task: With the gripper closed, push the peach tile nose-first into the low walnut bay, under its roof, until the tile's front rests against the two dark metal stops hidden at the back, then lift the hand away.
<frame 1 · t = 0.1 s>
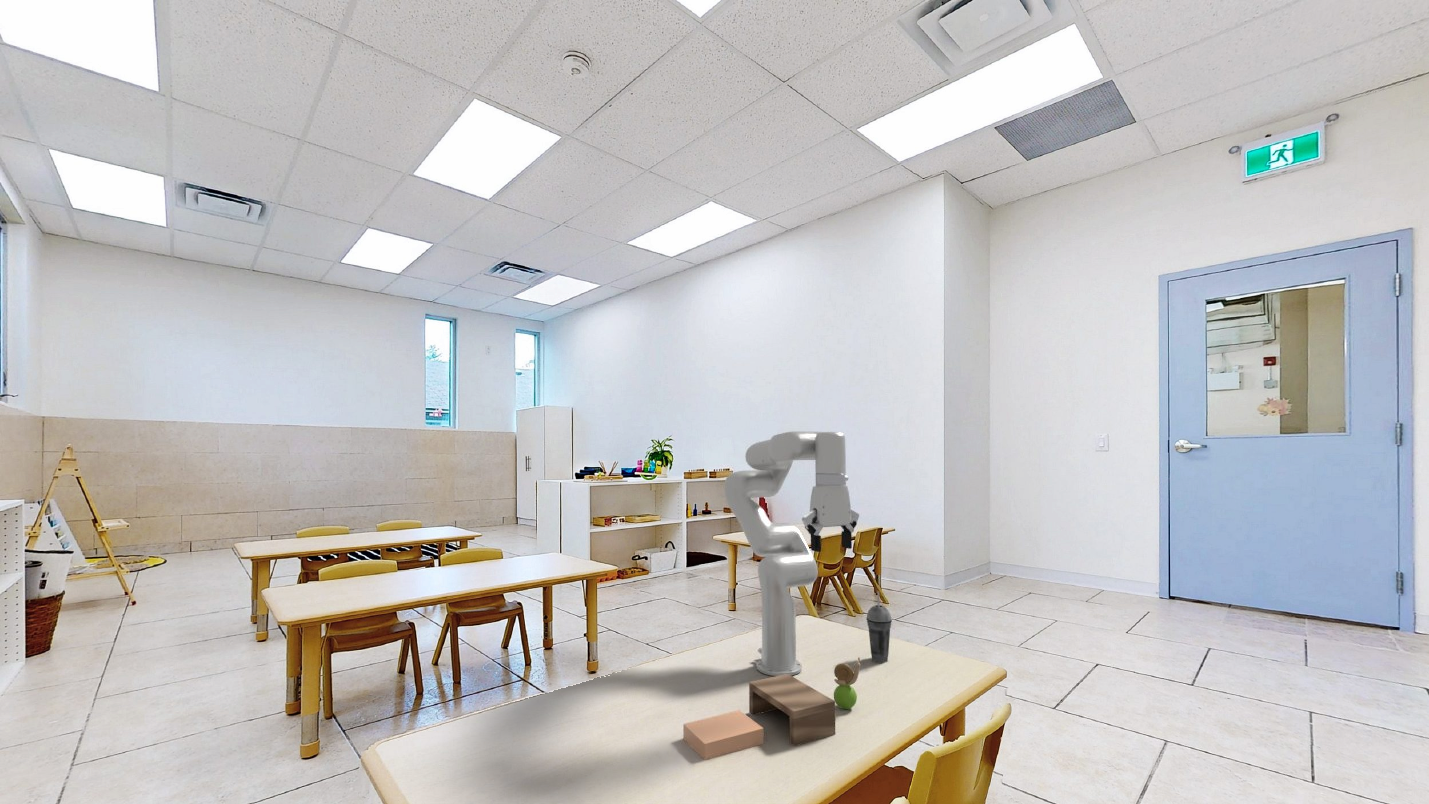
hand: (831, 549, 153), 37 cm above the table, fingers open, 9 cm apart
snail figurine: (847, 709, 146), on the table
peach tile: (723, 743, 130), on the table
beverage cup: (879, 660, 179), on the table
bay: (788, 723, 139), on the table
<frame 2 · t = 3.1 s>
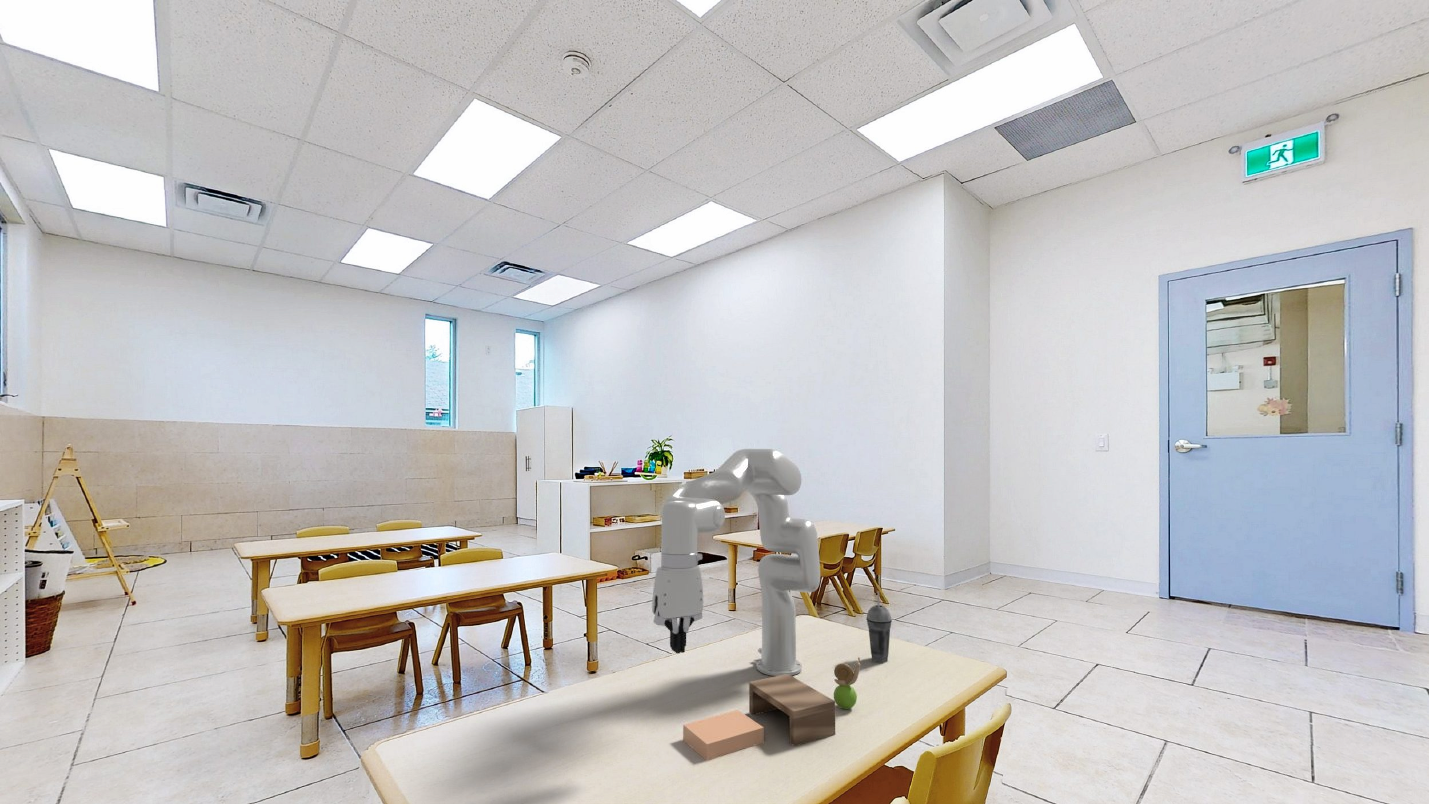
hand: (677, 650, 127), 20 cm above the table, fingers closed
nothing on the table moved.
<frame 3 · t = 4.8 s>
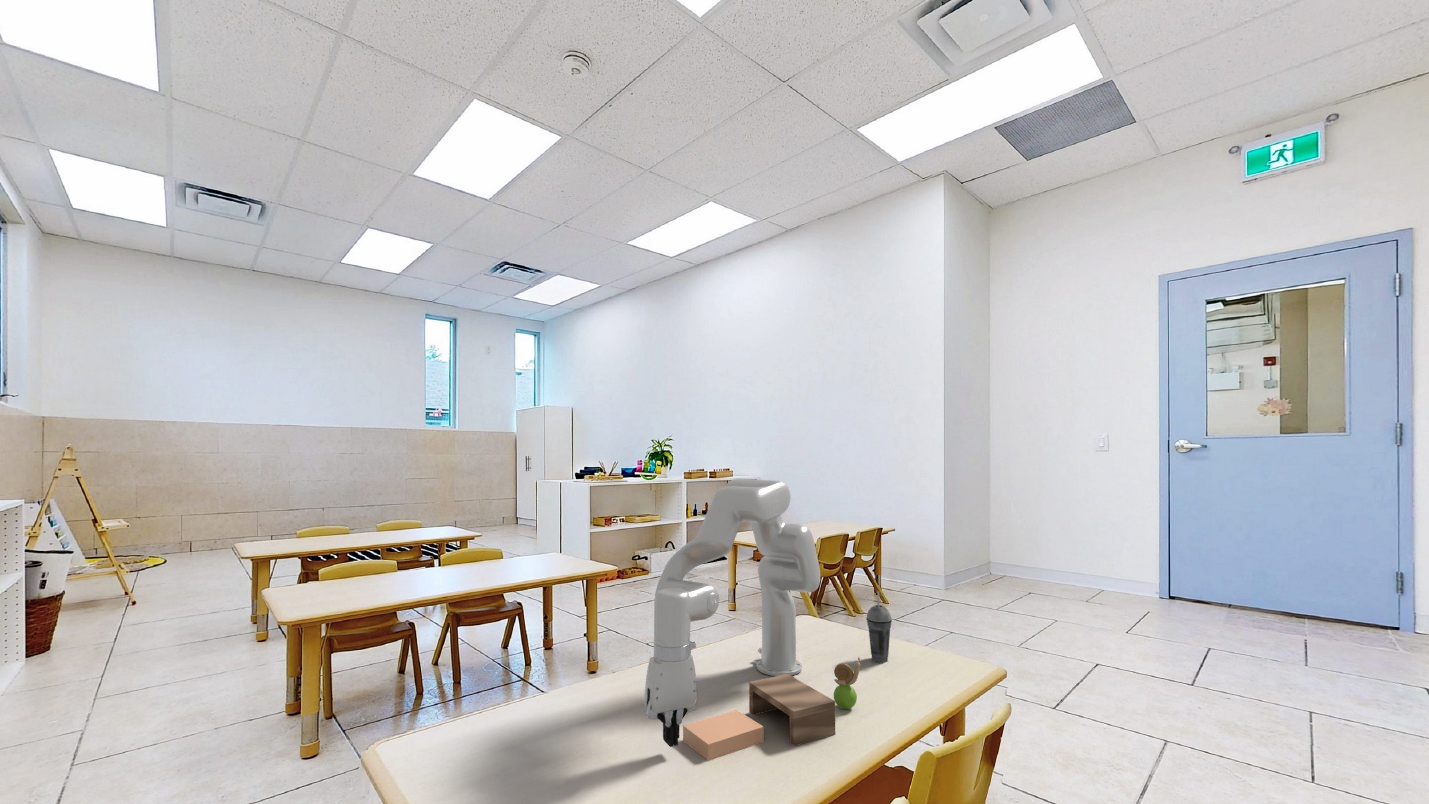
hand: (671, 743, 125), 2 cm above the table, fingers closed
nothing on the table moved.
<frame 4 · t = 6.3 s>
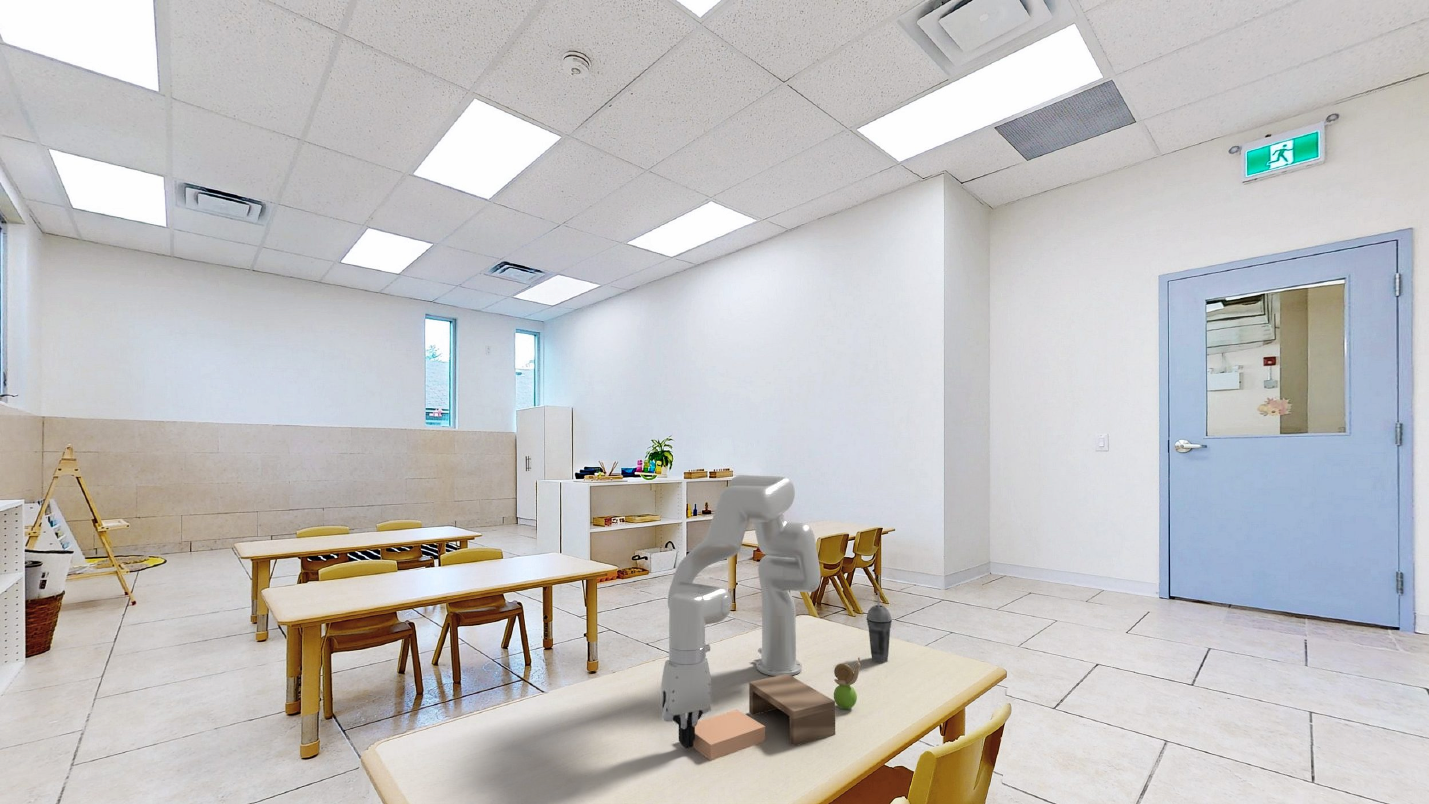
hand: (686, 745, 126), 1 cm above the table, fingers closed
peach tile: (724, 743, 131), on the table, touching gripper
everything else where it was.
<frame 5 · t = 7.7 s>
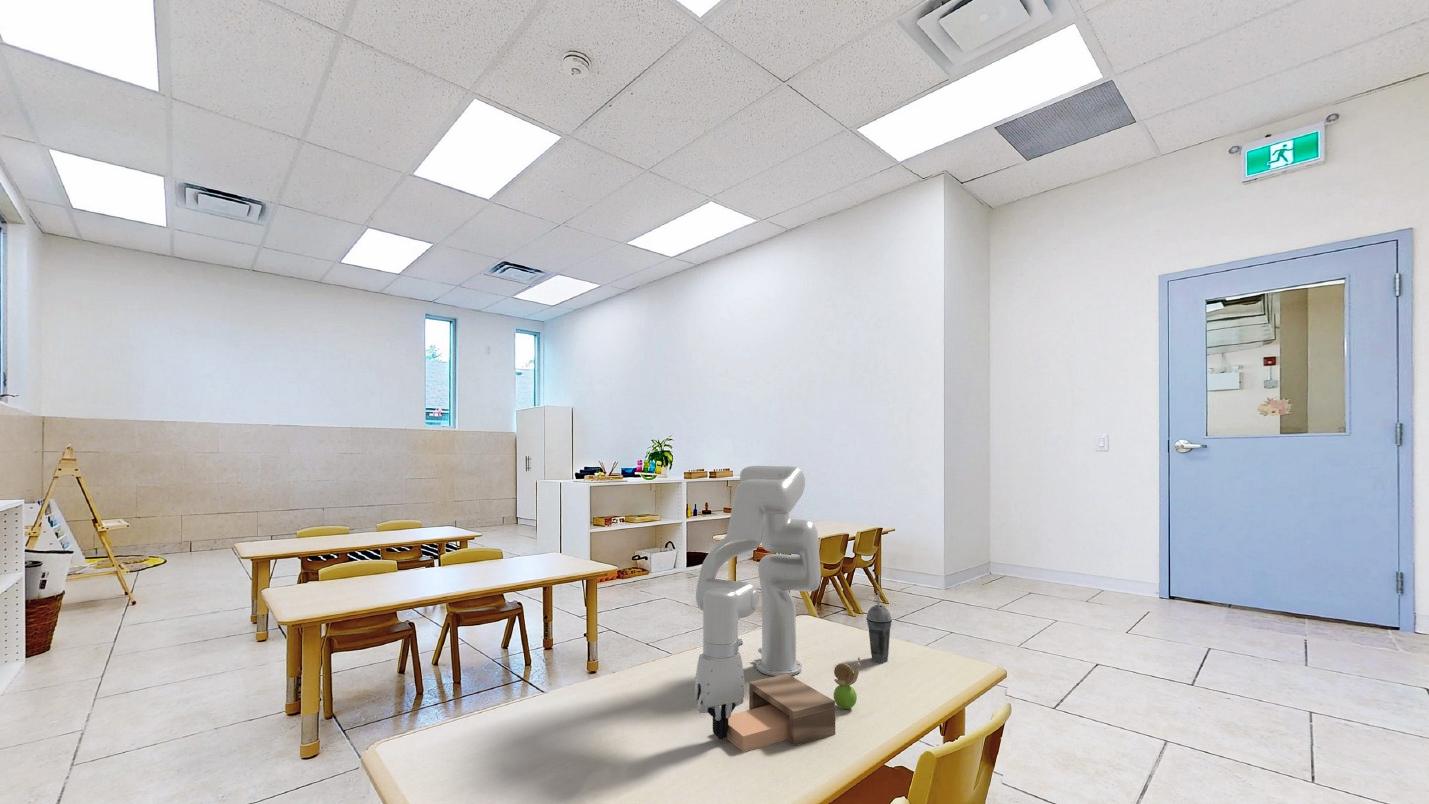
hand: (720, 736, 130), 1 cm above the table, fingers closed
peach tile: (758, 735, 134), on the table
everything else where it was.
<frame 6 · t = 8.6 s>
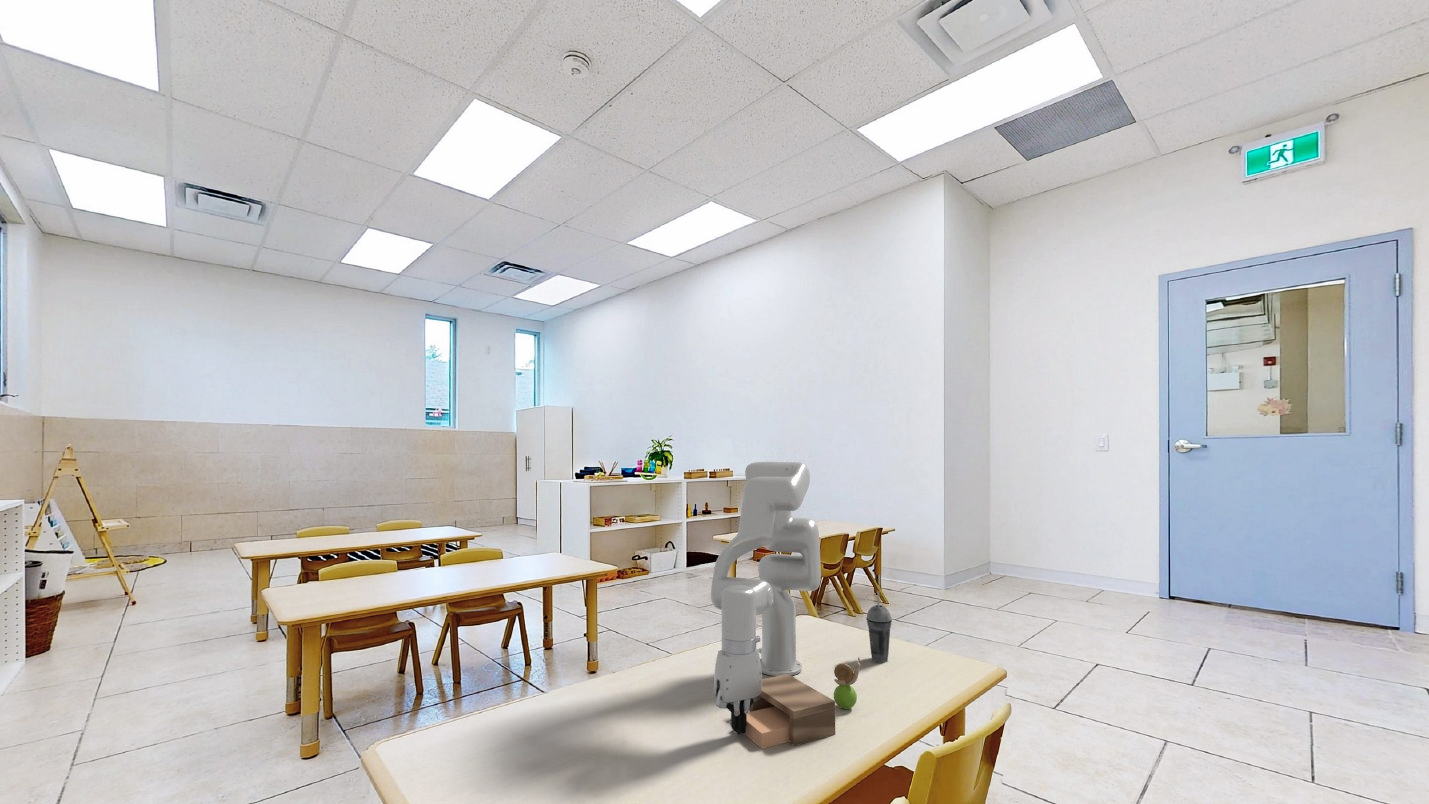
hand: (738, 731, 132), 1 cm above the table, fingers closed
peach tile: (777, 733, 135), on the table, touching gripper
everything else where it was.
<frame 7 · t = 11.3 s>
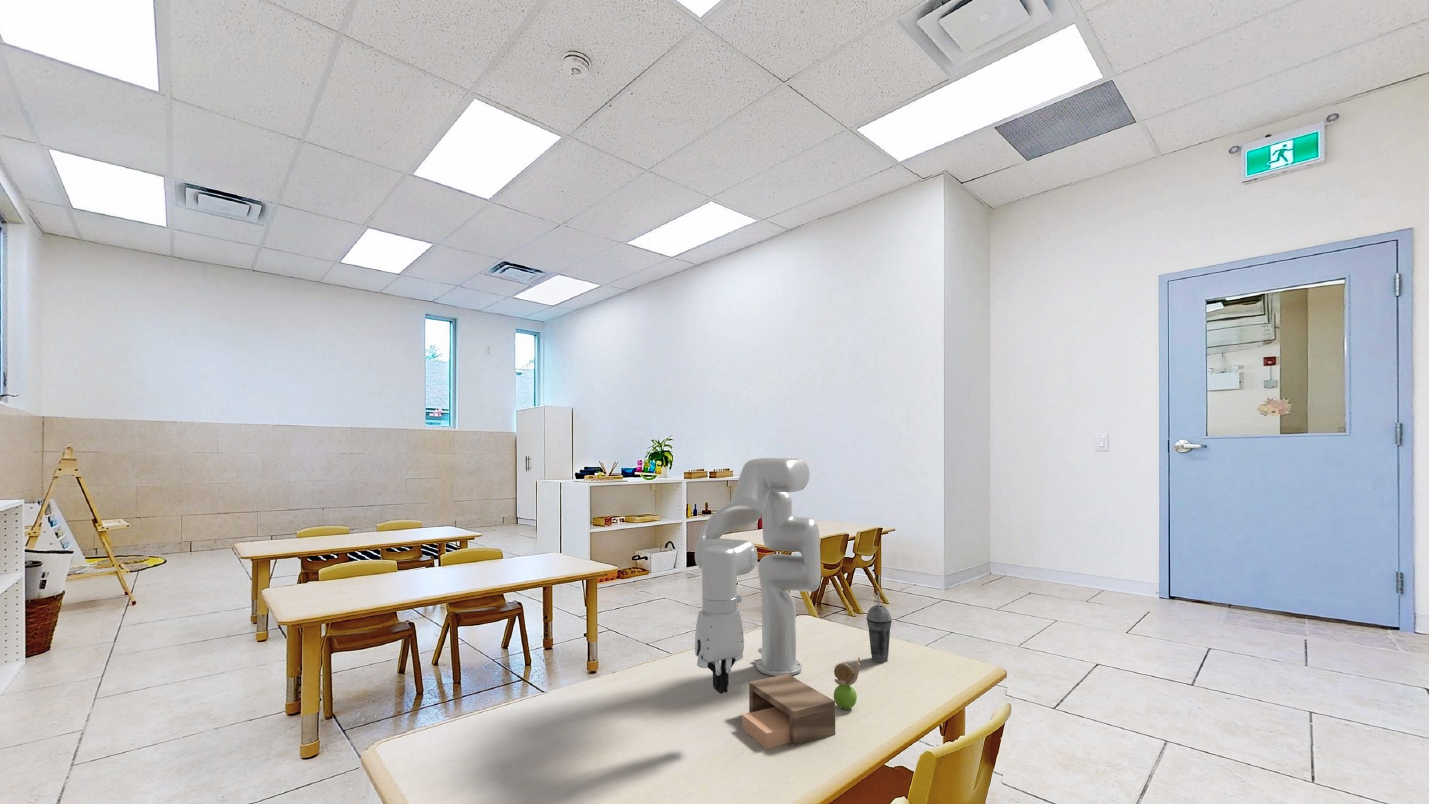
hand: (720, 690, 131), 10 cm above the table, fingers closed
peach tile: (781, 733, 135), on the table
everything else where it was.
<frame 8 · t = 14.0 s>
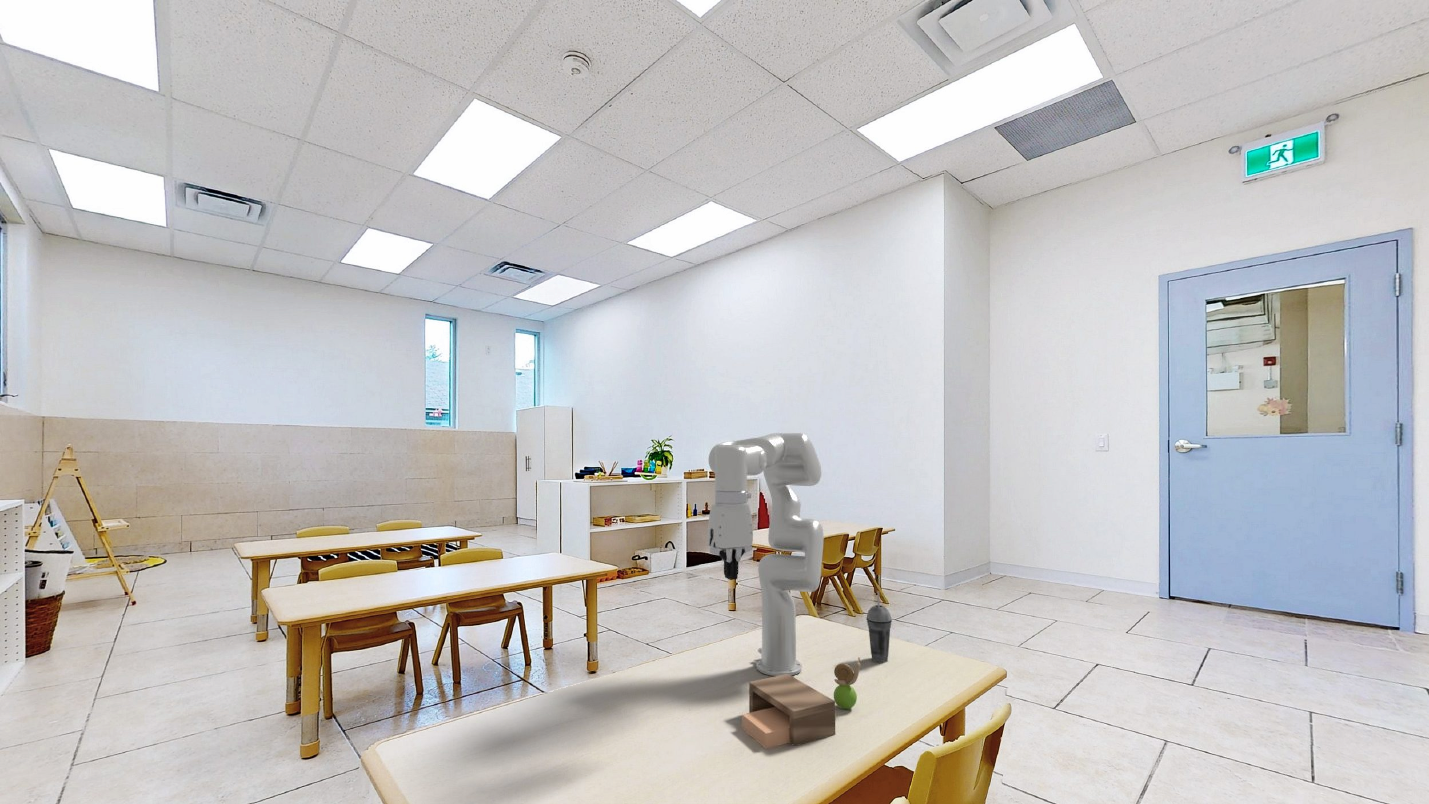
hand: (731, 578, 142), 32 cm above the table, fingers closed
nothing on the table moved.
at the end: peach tile 2.2 cm from the target spot, on the table; peach tile tilted 0°; peach tile moved 13.6 cm from its start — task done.
